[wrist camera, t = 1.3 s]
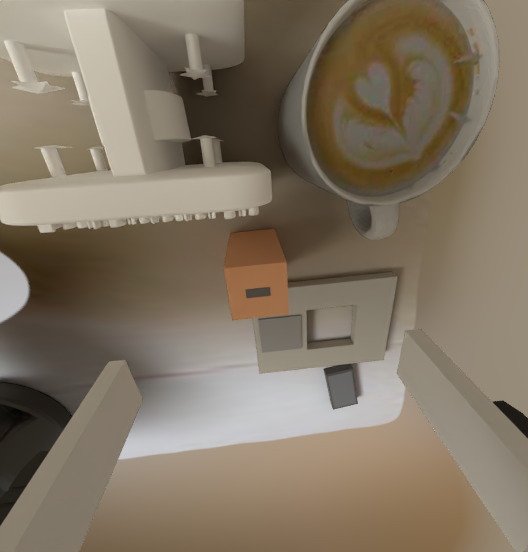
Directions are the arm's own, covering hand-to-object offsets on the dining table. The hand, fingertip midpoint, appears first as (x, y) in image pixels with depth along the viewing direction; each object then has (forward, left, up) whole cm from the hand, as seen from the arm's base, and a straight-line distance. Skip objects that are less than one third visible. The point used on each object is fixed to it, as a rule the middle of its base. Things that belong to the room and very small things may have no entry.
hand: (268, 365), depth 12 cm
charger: (0, 0, -16) cm, 16 cm away
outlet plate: (+7, -10, -16) cm, 20 cm away
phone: (+10, -21, -16) cm, 28 cm away
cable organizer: (-6, +11, -16) cm, 21 cm away
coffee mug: (+8, +9, -16) cm, 20 cm away
